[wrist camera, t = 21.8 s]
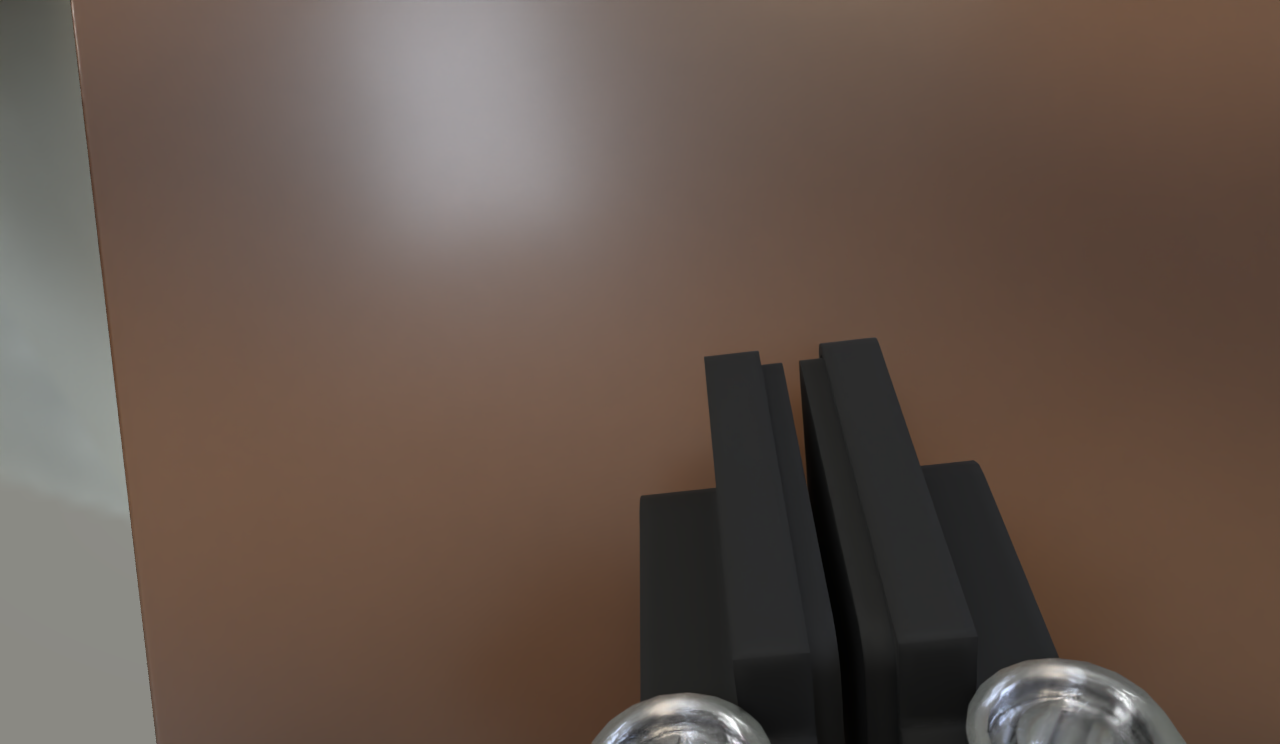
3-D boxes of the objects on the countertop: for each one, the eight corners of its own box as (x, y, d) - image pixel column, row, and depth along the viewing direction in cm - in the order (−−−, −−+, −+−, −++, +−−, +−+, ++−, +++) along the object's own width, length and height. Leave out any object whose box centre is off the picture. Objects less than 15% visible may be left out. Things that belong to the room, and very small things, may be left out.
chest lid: (1529, 947, 13) (1582, 986, 12) (224, 1049, 14) (194, 1091, 13) (1337, -726, 13) (1378, -799, 12) (44, -502, 14) (2, -555, 13)
